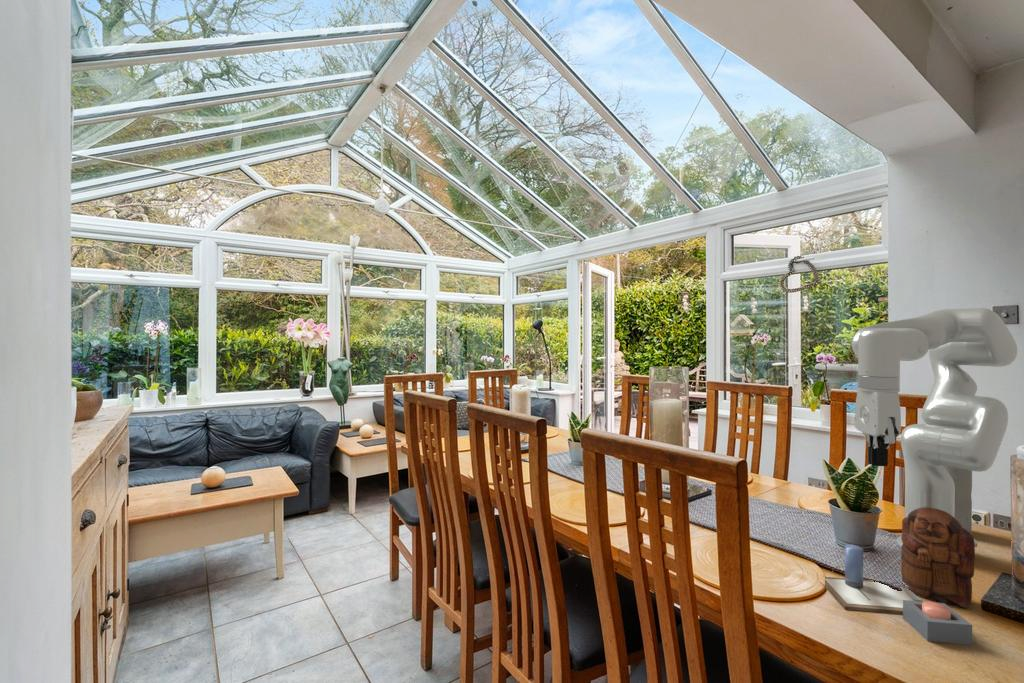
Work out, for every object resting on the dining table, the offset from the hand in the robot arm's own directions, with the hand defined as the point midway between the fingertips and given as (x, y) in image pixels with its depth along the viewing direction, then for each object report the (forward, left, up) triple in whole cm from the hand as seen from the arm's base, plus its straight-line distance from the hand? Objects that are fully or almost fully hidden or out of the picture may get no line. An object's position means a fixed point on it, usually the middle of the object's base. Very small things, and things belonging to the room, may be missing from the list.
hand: (877, 464), depth 110 cm
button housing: (+1, +21, -25) cm, 33 cm away
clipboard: (+6, +10, -25) cm, 28 cm away
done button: (+1, +21, -24) cm, 32 cm away
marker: (+8, +7, -24) cm, 27 cm away
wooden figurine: (-7, +8, -25) cm, 27 cm away
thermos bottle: (-34, -30, -25) cm, 52 cm away
